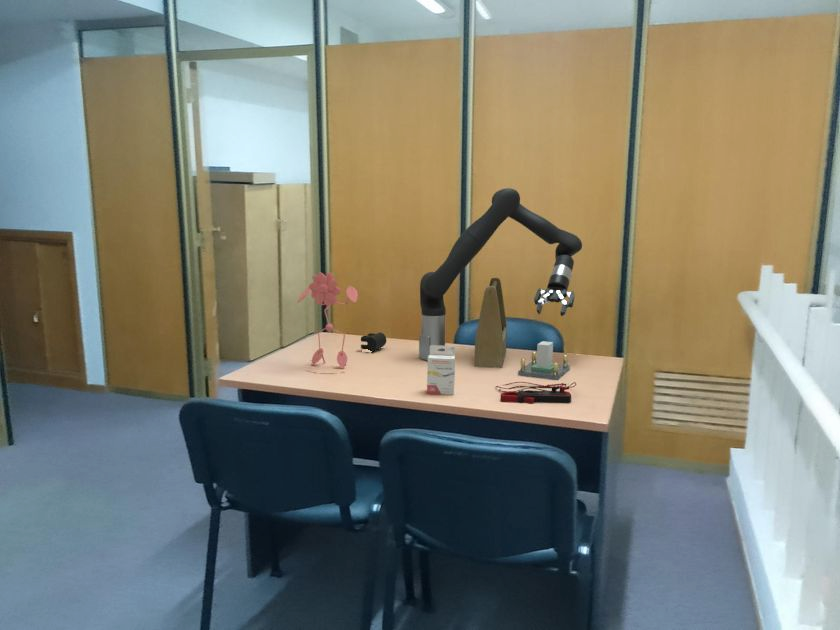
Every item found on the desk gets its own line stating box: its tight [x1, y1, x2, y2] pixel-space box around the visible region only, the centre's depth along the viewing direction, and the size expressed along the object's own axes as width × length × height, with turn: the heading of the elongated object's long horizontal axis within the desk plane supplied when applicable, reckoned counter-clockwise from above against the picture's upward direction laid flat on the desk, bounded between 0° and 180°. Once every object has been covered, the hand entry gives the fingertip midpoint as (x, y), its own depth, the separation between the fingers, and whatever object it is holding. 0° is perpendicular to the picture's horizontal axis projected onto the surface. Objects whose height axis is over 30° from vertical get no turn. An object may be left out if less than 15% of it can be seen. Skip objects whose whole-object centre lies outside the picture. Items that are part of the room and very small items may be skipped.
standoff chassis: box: [517, 351, 571, 381], centre depth 237 cm, size 14×17×6 cm
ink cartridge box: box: [426, 345, 456, 395], centre depth 210 cm, size 9×5×15 cm, turn 84°
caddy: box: [474, 277, 508, 369], centre depth 256 cm, size 29×11×30 cm, turn 170°
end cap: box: [360, 331, 387, 352], centre depth 271 cm, size 10×7×7 cm
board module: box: [531, 341, 554, 372], centre depth 237 cm, size 7×9×9 cm
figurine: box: [296, 271, 359, 375], centre depth 238 cm, size 15×26×35 cm, turn 66°
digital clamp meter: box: [495, 381, 577, 404], centre depth 211 cm, size 23×4×25 cm
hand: (550, 313), depth 244 cm, fingers open, 8 cm apart
